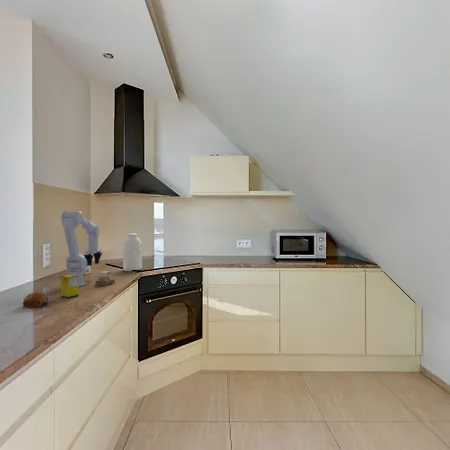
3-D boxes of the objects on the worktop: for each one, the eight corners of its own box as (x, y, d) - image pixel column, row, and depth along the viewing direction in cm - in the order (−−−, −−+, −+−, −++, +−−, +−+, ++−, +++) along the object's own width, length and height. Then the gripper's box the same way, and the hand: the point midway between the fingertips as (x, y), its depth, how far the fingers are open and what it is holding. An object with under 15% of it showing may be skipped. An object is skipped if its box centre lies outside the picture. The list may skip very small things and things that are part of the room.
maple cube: (106, 280, 194) (106, 272, 194) (98, 280, 195) (98, 272, 195) (110, 279, 199) (110, 271, 199) (103, 278, 200) (103, 270, 200)
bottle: (125, 272, 240) (125, 234, 239) (121, 269, 252) (121, 233, 251) (144, 270, 246) (144, 233, 246) (139, 268, 259) (139, 233, 258)
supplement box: (70, 294, 170) (70, 273, 170) (78, 295, 167) (78, 274, 167) (60, 297, 165) (60, 275, 165) (68, 298, 162) (68, 276, 162)
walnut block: (107, 286, 193) (107, 281, 193) (95, 285, 194) (95, 280, 194) (114, 283, 200) (114, 278, 200) (103, 283, 202) (103, 278, 202)
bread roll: (45, 309, 155) (41, 293, 157) (53, 304, 149) (50, 287, 151) (21, 314, 147) (18, 297, 149) (29, 308, 141) (26, 290, 143)
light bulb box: (91, 273, 234) (91, 258, 234) (86, 274, 228) (86, 259, 227) (77, 272, 235) (77, 257, 235) (71, 274, 229) (71, 259, 228)
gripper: (91, 245, 203) (91, 266, 204) (105, 243, 217) (105, 263, 218) (81, 244, 205) (81, 266, 205) (95, 242, 219) (95, 262, 219)
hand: (93, 264), depth 212 cm, fingers open, 7 cm apart
